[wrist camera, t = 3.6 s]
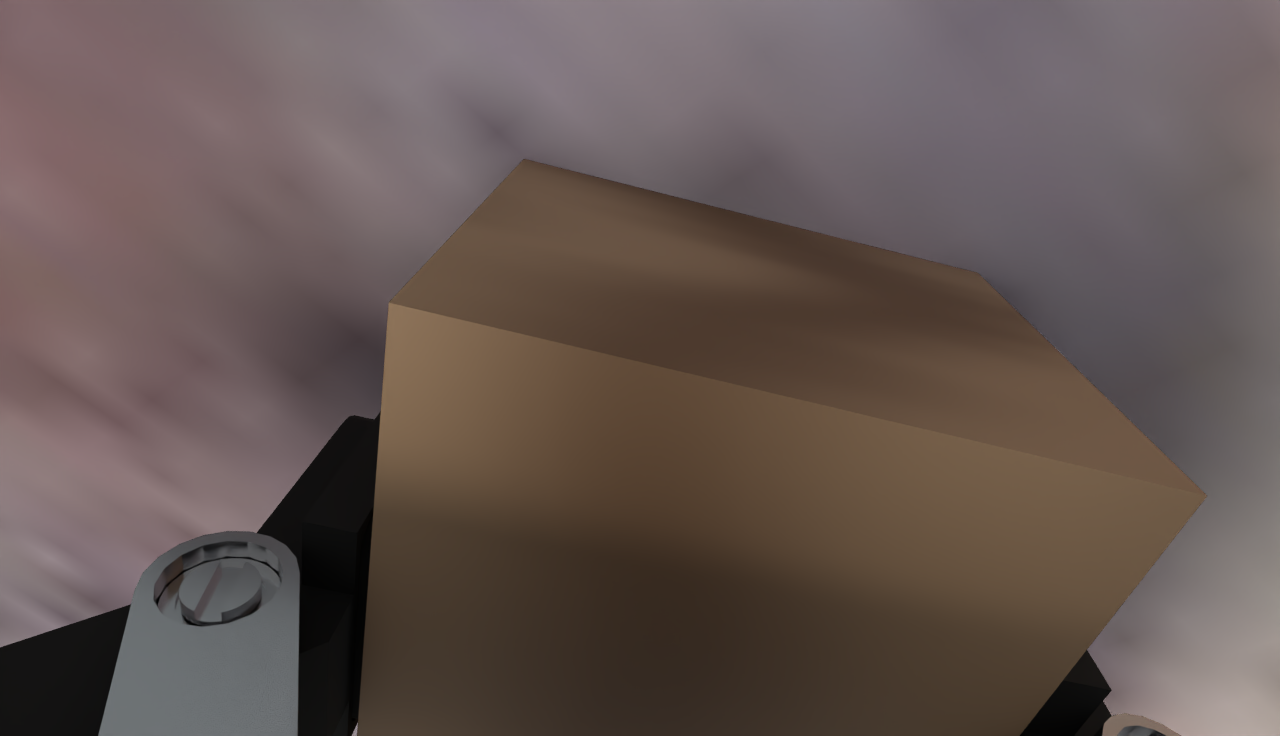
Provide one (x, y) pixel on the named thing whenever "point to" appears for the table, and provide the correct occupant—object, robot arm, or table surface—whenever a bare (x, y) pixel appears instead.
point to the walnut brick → (732, 484)
